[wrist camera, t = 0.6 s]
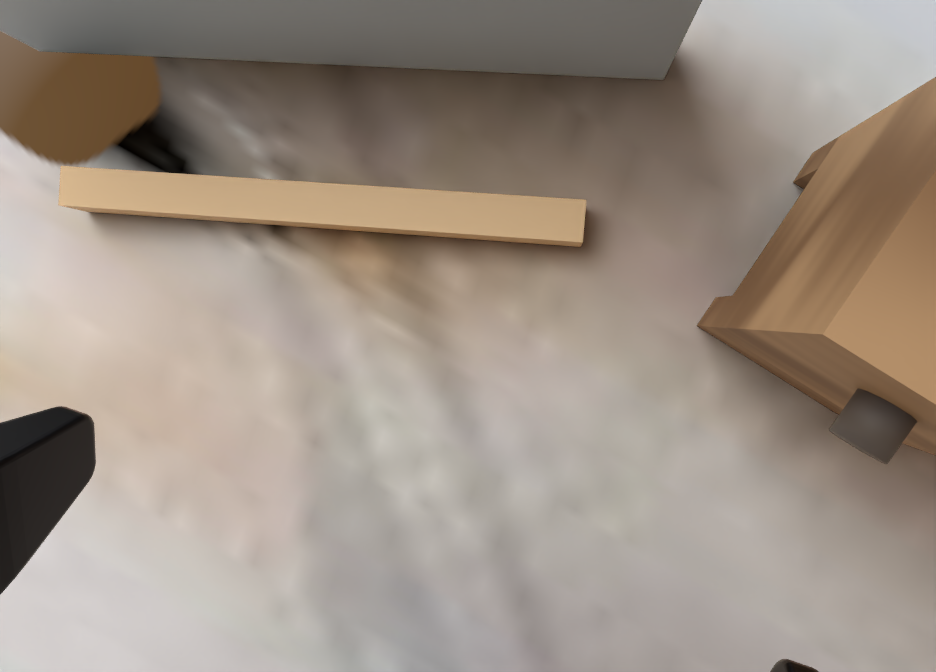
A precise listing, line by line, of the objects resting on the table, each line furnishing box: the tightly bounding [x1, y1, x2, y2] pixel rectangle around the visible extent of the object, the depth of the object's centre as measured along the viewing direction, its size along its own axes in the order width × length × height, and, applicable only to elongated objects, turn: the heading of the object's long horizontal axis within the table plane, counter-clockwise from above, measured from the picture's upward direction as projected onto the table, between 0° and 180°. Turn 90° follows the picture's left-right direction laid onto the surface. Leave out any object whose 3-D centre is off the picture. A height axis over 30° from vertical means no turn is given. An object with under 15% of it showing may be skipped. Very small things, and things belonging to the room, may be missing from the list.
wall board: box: [0, 0, 702, 247], centre depth 18 cm, size 6×20×9 cm, turn 85°
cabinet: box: [697, 77, 936, 464], centre depth 16 cm, size 7×6×10 cm
